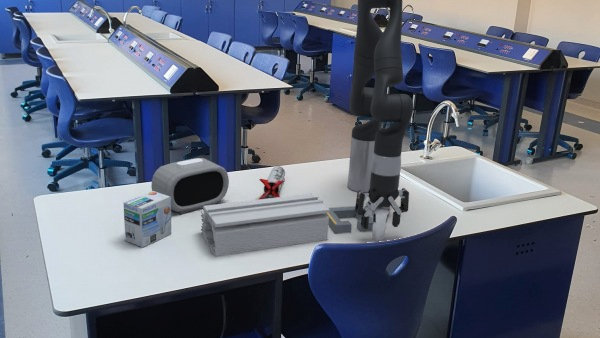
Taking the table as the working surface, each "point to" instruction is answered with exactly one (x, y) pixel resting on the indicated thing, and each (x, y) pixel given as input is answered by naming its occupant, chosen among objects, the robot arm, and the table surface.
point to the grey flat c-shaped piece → (345, 226)
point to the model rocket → (273, 182)
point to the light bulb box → (147, 218)
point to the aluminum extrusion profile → (264, 223)
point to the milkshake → (379, 222)
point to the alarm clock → (191, 183)
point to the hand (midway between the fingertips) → (379, 227)
